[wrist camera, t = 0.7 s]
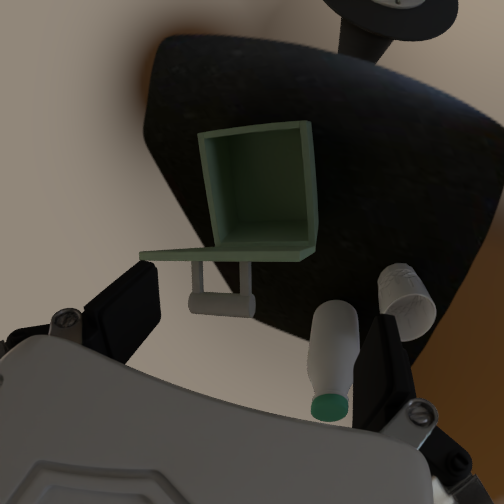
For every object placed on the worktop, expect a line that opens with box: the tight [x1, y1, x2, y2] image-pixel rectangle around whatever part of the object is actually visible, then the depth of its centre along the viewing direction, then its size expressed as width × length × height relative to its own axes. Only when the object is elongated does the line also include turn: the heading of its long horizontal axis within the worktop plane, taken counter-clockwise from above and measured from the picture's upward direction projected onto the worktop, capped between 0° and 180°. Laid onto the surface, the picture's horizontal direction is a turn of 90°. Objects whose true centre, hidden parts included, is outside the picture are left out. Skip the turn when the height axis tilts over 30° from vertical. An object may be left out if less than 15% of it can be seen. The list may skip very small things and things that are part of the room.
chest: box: [198, 120, 319, 247], centre depth 36 cm, size 15×13×9 cm
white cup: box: [378, 263, 436, 341], centre depth 37 cm, size 8×8×10 cm
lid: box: [139, 246, 315, 318], centre depth 28 cm, size 15×13×5 cm
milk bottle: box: [307, 300, 360, 422], centre depth 38 cm, size 8×8×20 cm
